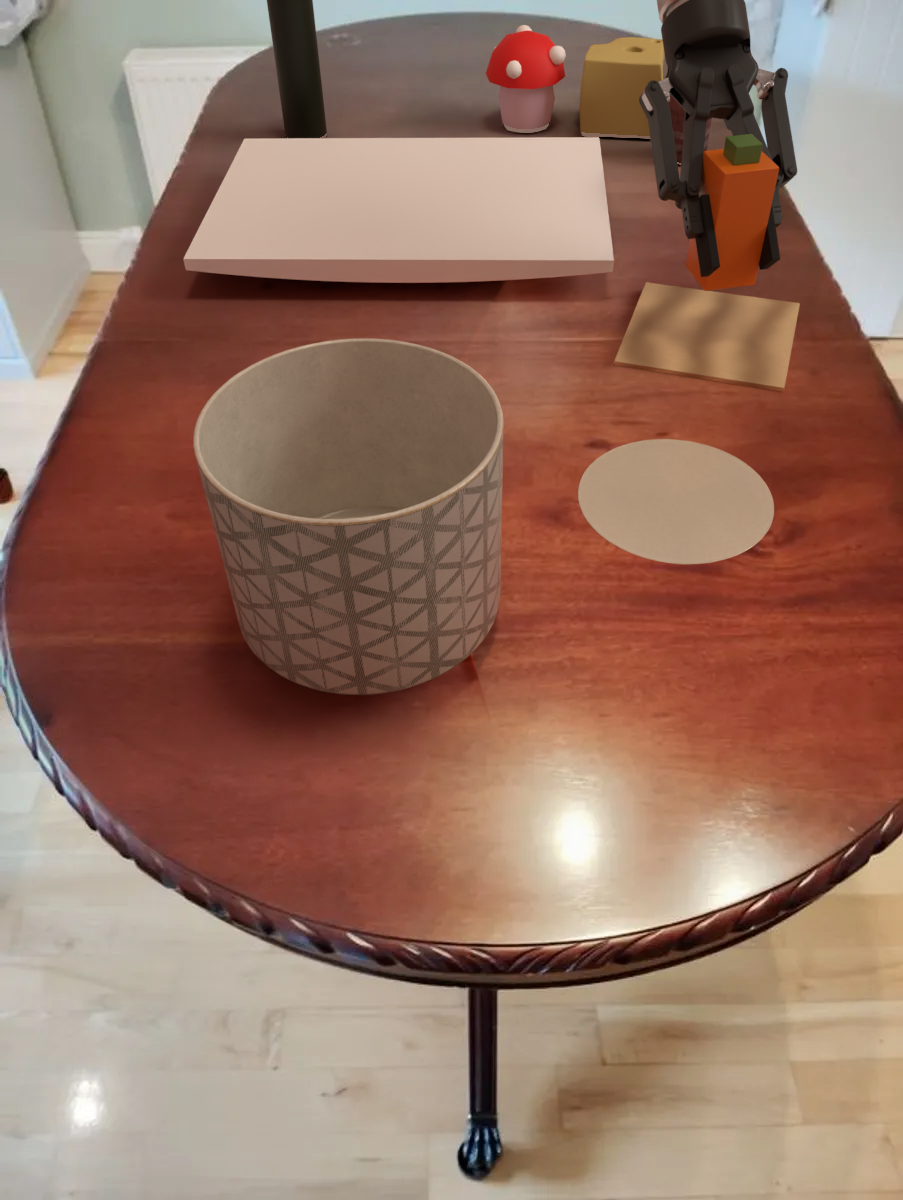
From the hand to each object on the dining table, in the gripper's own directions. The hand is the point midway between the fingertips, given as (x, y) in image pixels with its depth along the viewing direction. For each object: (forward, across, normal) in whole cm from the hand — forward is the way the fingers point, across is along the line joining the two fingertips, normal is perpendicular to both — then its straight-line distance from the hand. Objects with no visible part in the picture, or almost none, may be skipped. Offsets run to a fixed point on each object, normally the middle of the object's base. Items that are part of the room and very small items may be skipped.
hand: (740, 267), depth 91 cm
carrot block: (-1, 0, -4) cm, 5 cm away
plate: (+20, +12, +7) cm, 25 cm away
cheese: (-34, -9, -48) cm, 60 cm away
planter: (+26, +39, +12) cm, 48 cm away
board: (-17, +25, -31) cm, 44 cm away
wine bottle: (-40, +34, -54) cm, 75 cm away
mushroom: (-37, +4, -51) cm, 64 cm away
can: (-26, -13, -40) cm, 50 cm away
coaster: (+4, 0, -9) cm, 10 cm away
